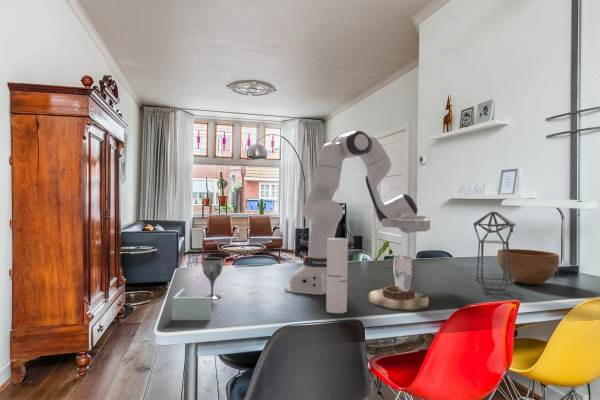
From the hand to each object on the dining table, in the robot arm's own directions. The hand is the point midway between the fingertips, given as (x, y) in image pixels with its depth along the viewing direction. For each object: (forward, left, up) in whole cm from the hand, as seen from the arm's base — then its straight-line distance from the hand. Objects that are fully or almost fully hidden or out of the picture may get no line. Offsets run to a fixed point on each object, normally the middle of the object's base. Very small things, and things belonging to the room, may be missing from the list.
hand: (403, 224), depth 147 cm
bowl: (+65, +29, -29) cm, 77 cm away
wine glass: (-76, -14, -29) cm, 83 cm away
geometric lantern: (+41, +11, -29) cm, 51 cm away
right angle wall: (-75, -35, -30) cm, 88 cm away
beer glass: (-3, -12, -27) cm, 30 cm away
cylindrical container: (-28, -25, -29) cm, 48 cm away
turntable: (-4, -11, -29) cm, 31 cm away
